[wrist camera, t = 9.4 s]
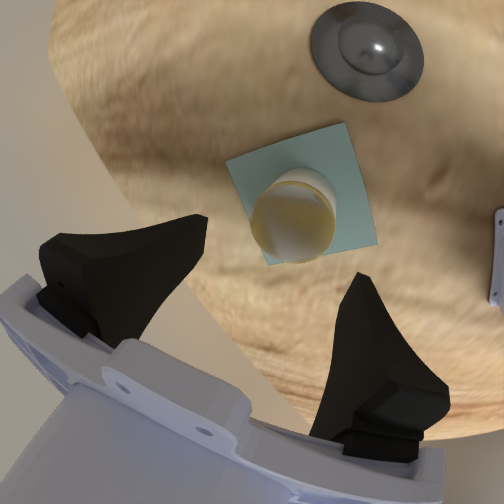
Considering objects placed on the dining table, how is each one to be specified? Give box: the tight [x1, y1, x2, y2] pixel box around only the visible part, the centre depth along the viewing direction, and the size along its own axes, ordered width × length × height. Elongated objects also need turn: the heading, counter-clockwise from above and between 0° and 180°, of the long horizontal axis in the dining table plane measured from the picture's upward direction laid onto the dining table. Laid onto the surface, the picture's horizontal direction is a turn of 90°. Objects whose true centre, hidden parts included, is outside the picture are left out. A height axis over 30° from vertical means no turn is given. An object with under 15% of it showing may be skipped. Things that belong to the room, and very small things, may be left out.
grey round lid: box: [311, 1, 424, 102], centre depth 12 cm, size 8×8×2 cm
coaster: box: [225, 122, 378, 265], centre depth 20 cm, size 9×9×1 cm
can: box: [250, 168, 337, 264], centre depth 17 cm, size 5×5×4 cm
